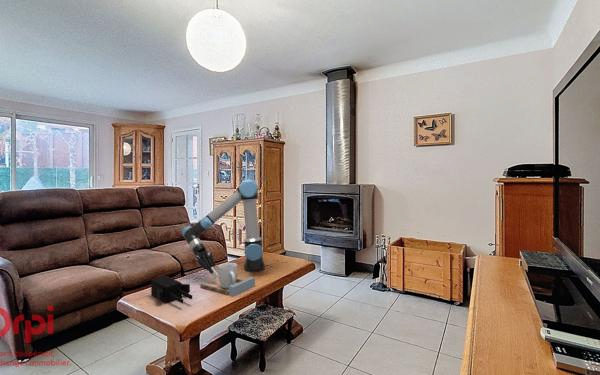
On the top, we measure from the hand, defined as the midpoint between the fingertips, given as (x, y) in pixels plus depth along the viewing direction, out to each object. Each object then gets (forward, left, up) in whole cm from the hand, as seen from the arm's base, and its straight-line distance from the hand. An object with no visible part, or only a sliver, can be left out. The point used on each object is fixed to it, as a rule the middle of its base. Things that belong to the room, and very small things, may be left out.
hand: (216, 276), depth 182 cm
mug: (-7, +7, -5) cm, 12 cm away
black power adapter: (+22, +18, -5) cm, 29 cm away
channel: (-6, +5, -5) cm, 9 cm away
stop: (-15, +15, -5) cm, 22 cm away
